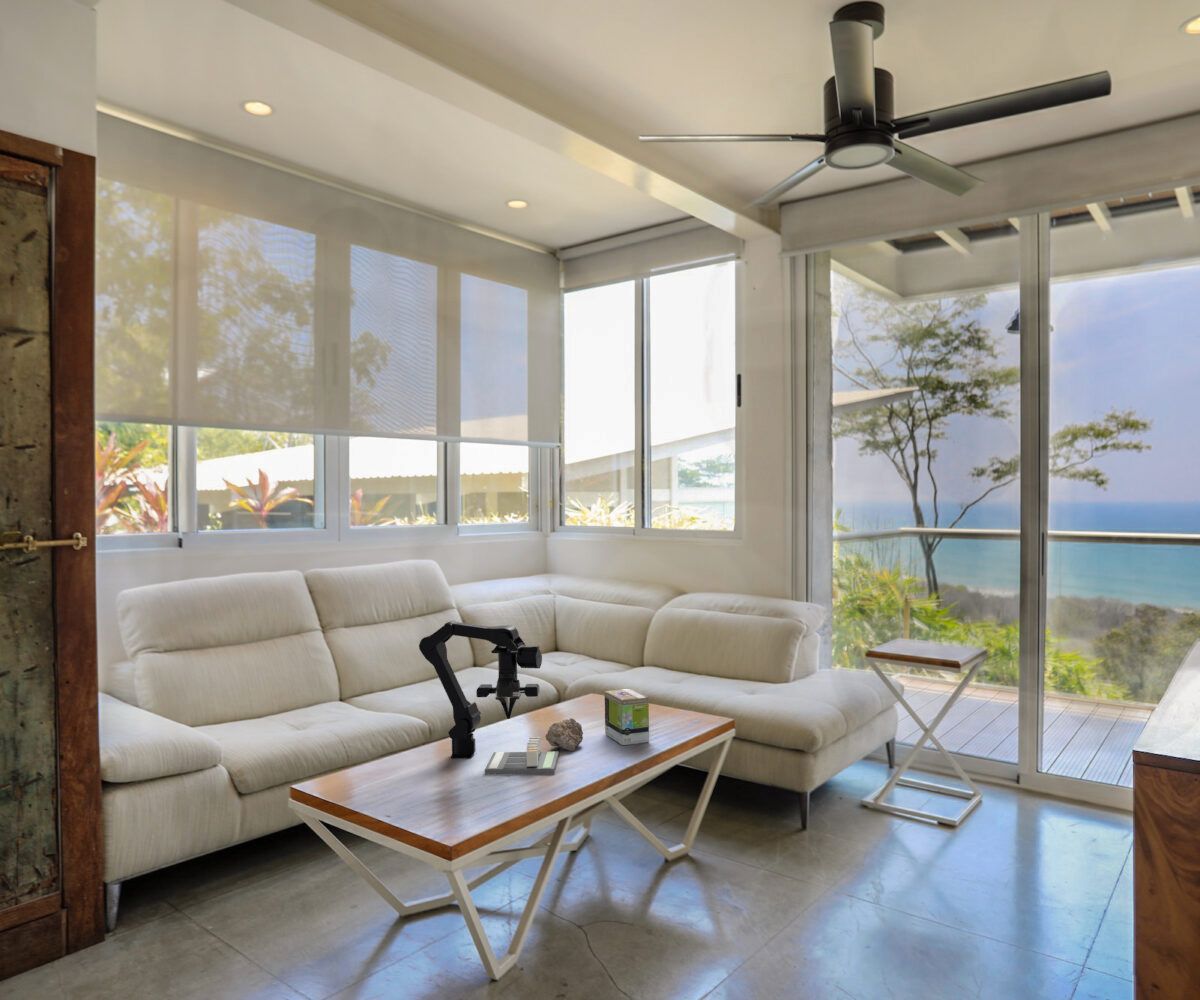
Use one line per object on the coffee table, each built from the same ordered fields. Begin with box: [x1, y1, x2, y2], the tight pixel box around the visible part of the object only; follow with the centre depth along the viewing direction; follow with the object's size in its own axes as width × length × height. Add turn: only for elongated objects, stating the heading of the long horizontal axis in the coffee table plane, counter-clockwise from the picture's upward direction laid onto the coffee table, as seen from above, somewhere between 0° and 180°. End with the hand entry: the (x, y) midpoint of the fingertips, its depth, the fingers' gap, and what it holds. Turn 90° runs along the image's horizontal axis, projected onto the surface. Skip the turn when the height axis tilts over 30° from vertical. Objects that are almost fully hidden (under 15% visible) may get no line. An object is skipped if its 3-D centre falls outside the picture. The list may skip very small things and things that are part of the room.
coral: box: [545, 718, 584, 752], centre depth 261 cm, size 14×9×10 cm, turn 140°
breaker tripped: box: [526, 747, 538, 766], centre depth 238 cm, size 3×3×5 cm
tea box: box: [604, 688, 650, 746], centre depth 269 cm, size 15×10×15 cm
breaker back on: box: [528, 736, 541, 754], centre depth 249 cm, size 3×3×5 cm
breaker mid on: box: [526, 741, 538, 749], centre depth 244 cm, size 3×3×5 cm
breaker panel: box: [484, 751, 560, 776], centre depth 244 cm, size 20×16×2 cm
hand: (508, 718), depth 251 cm, fingers closed
